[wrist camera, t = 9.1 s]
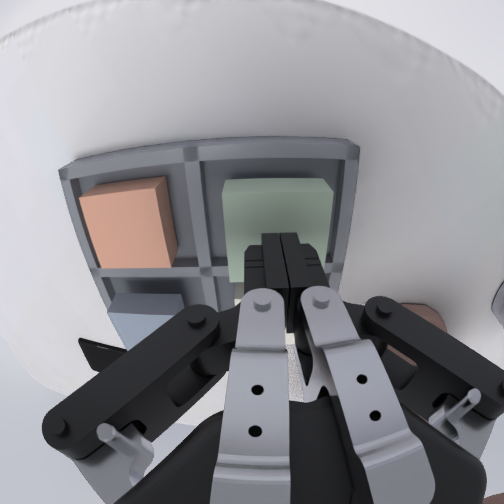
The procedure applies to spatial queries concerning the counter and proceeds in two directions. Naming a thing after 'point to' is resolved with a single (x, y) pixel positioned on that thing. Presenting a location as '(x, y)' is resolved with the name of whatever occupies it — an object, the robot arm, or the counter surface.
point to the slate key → (141, 314)
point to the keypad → (210, 206)
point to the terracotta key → (131, 223)
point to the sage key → (274, 214)
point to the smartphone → (100, 354)
